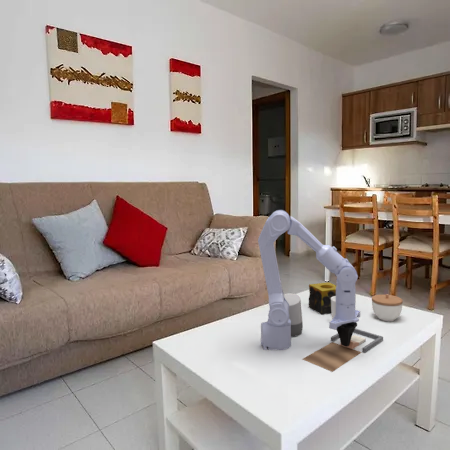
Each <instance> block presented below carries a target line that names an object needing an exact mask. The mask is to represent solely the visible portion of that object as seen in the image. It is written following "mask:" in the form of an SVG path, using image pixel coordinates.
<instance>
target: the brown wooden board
mask: <svg viewBox="0 0 450 450" xmlns="http://www.w3.org/2000/svg"><path fill="white" fill-rule="evenodd" d="M362 353H363V352H362V351H359V350H357V349H355V348H354V349H350V348H347V347H345V346H342V345H340V343H336V342H335V341H334V342H332V341H331V342H329V343H328V344H326V345H325V346H323V347H320V348H319V349H318V350H316V351H314V352H312V353H310V354H309V355H307V356H306V357H303V358H302V361H304V362H305V361H306V362H308V363H310V364H312V365H315V366H317V367H320V368H322V369H325V370H327V371H330V372H331V373H333V372H335V371H336V370H338V369H339V368H341V367H342V366H344V365H345V364H347V363H348V362H350V361H351V360H352V359H355V358H356V357H357V356H359V355H361V354H362Z"/></svg>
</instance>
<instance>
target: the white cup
mask: <svg viewBox="0 0 450 450" xmlns="http://www.w3.org/2000/svg"><path fill="white" fill-rule="evenodd" d="M330 314H331V320H332V319H333V318H334V316H335V315H336V296H333V297H331V313H330Z"/></svg>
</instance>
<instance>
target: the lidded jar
mask: <svg viewBox="0 0 450 450" xmlns="http://www.w3.org/2000/svg"><path fill="white" fill-rule="evenodd" d="M403 302H404V301H403V298H401V297H399V296H396V295H393V294H392V295H391V294H388V293H385V294H375V295H372V296H371V306H372V310H373V313H374V315H375V316H376V317H377V319H378V320H380V321H384V322H394V321H396V319H398V318H399V317H400V315H401V314H402V310H403Z"/></svg>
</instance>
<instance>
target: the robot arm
mask: <svg viewBox="0 0 450 450" xmlns="http://www.w3.org/2000/svg"><path fill="white" fill-rule="evenodd" d="M286 232H287V234H288V235H291V236H297V238H299V240H301V241H303V243H304V244H306V245H307V246H308V247H309V248H311V249H312V250H313V251H314V252H315V258H316V260H317V261H318V262H319V263H320V264H321V265H323V266H324V267H325V269H327V270H328V271H329V272H330V273H331V274H334V275H335V277H336V315H335V316H334V318H333V319H332V318H331V320H330V321H329V322H328V323H329V324H328V326H329V327H328V328H329V329H330V330H334V331H335V330H336V332H337V333H338V335H339V341H340V342H341V345H343V346H346V347H347V346H349V344H350V341H351V337H352V336H353V334H354V333H353V332H354V330H355V328H356V327H357V326H358V322H359V321H360V319H359V318H360V317H361V311H360V310H357V309H356V296H357V295H356V290H357V289H356V282H357V281H358V278H359V275H358V272H357V270H356V268H355V267H354V266H353V265H352V263H351V262H350V261H349V259H348V258H344V257H343V256H342V255H341V254H340V253H339V252H338V251H337V250H338V249H337V248H336V247H335V246H334V245H333V246H331V245H330V244H323V243H322V242H321V241H320V240H318V238H317V237H316V236H314V234H313V233H311V231H310V230H309V229H308V228H306V226H304V225H303V223H302V222H300V221H299V220H297V219H296V218H295V217H294V216H292V215H289V213H288V212H287V211H285V210H284V209H277V210H275V211H273V212H272V213H271V215H269V217H268V218H267V219H266V221H265V223H264V225H263V227H262V230H261V232H260V234H259V235H258V238H257V243H258V247H259V253H260V258H261V259H260V260H261V263H262V269H263V274H264V279H265V280H264V281H265V285H266V289H267V294H268V305H269V306H268V307H269V311H268V315H267V316H268V317H267V321H264V322H261V323H260V346H261V347H262V349H263V351H265V350H266V351H268V350H276V351H283V350H287V349H290V348H291V347H292V337H291V320H290V319H289V304H288V302H287V300H286V299H285V297H284V294H285V293H284V290H283V286H282V281H281V274H280V269H279V265H278V259H277V253H276V248H275V244H274V243H275V242H276V240H277V239H278V238H279V237H280V236H281V235H282V234H284V233H286ZM356 329H357V328H356Z"/></svg>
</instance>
